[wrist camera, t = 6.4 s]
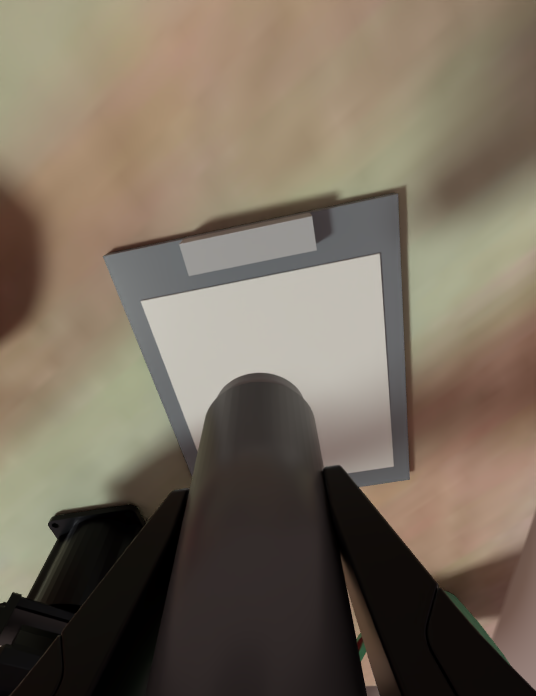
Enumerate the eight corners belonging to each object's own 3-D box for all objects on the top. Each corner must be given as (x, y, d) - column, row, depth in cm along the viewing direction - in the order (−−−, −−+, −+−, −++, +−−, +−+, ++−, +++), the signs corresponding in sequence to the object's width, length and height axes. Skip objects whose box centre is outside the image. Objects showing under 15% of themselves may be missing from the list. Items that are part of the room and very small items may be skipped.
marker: (220, 460, 13) (119, 1190, 4) (190, 374, 11) (-97, 1264, 2) (322, 444, 12) (470, 1191, 4) (306, 354, 11) (499, 1281, 2)
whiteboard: (206, 503, 27) (203, 522, 26) (106, 253, 19) (94, 262, 17) (407, 473, 26) (414, 491, 24) (394, 192, 18) (405, 196, 16)
